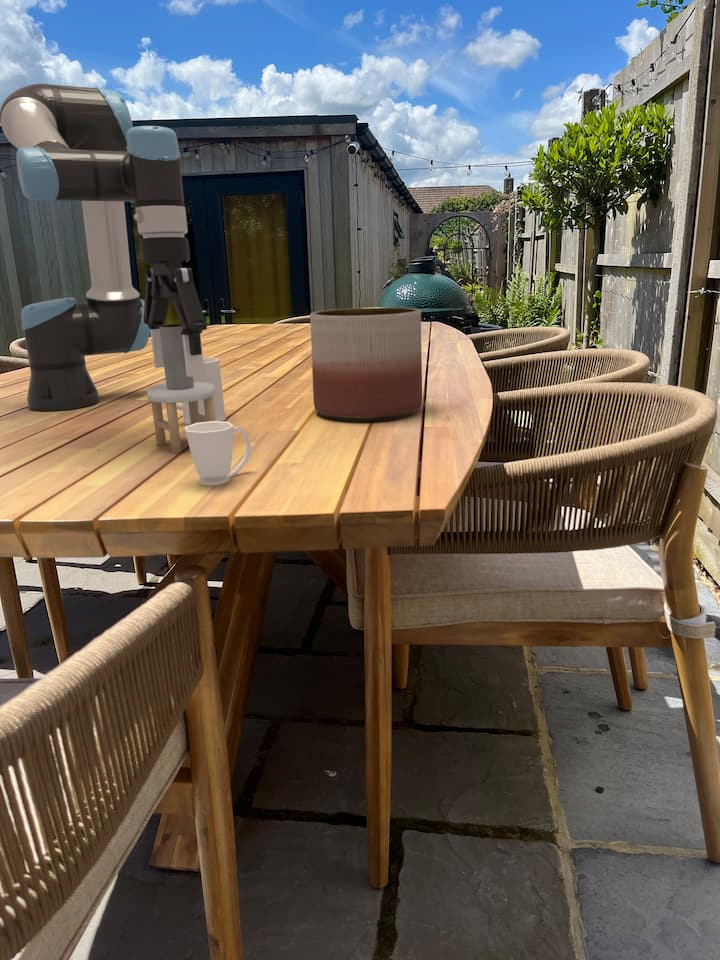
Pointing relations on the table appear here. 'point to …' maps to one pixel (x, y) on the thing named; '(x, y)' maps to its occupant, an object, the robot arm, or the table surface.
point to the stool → (171, 398)
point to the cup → (214, 450)
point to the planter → (366, 362)
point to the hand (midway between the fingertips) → (178, 371)
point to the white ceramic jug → (214, 378)
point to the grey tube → (174, 357)
